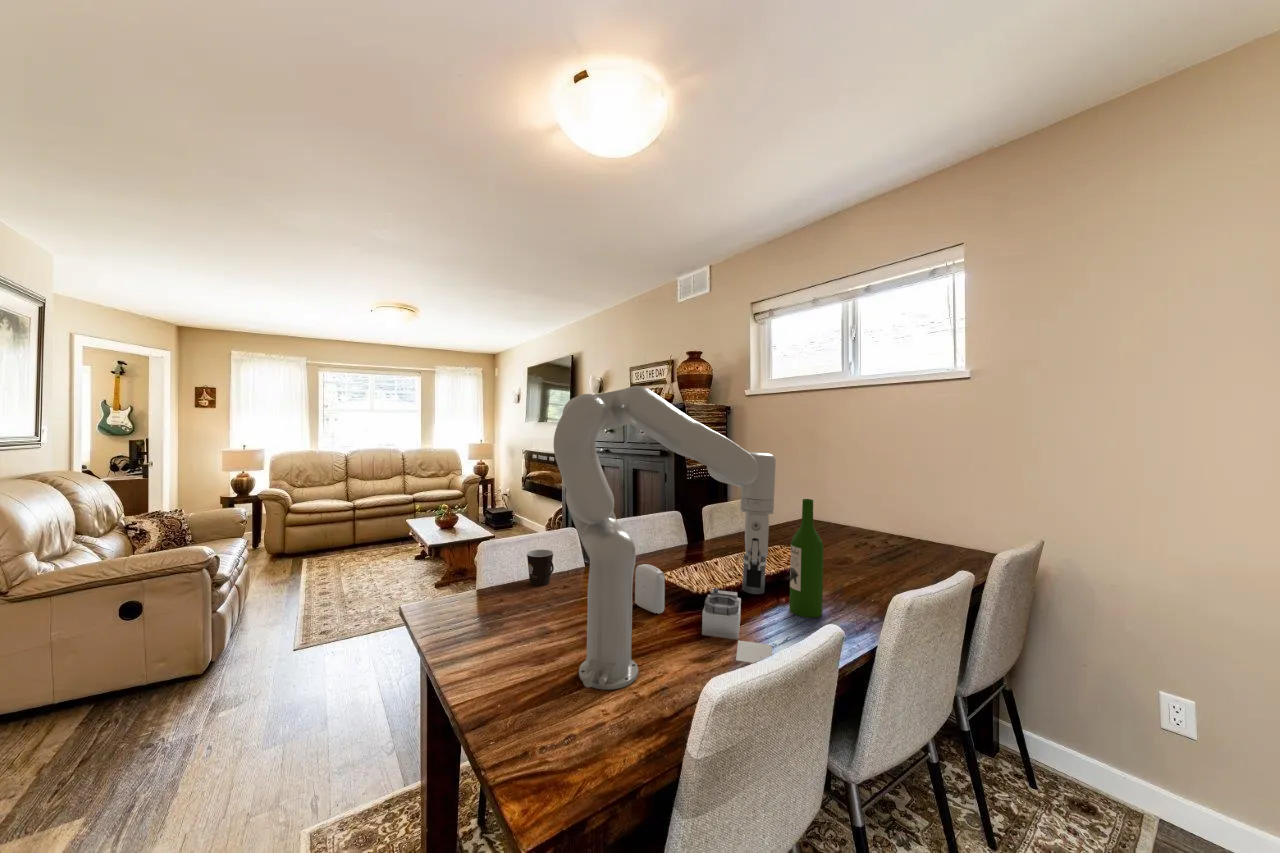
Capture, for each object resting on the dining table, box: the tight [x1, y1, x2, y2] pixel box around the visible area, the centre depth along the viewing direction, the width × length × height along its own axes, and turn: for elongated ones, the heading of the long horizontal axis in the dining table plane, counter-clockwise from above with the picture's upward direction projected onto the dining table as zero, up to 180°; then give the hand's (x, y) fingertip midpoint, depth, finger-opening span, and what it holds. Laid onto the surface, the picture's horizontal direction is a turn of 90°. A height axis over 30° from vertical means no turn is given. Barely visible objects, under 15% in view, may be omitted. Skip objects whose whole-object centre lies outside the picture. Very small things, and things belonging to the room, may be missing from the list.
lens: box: [741, 553, 767, 595], centre depth 108 cm, size 5×5×8 cm
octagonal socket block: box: [701, 587, 742, 641], centre depth 122 cm, size 13×9×8 cm
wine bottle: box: [789, 498, 825, 619], centre depth 134 cm, size 9×9×32 cm
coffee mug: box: [526, 549, 554, 587], centre depth 152 cm, size 12×9×10 cm
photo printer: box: [634, 563, 666, 615], centre depth 134 cm, size 10×4×12 cm, turn 39°
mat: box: [735, 639, 773, 664], centre depth 108 cm, size 10×8×1 cm
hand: (753, 582), depth 108 cm, fingers closed on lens, 5 cm apart
